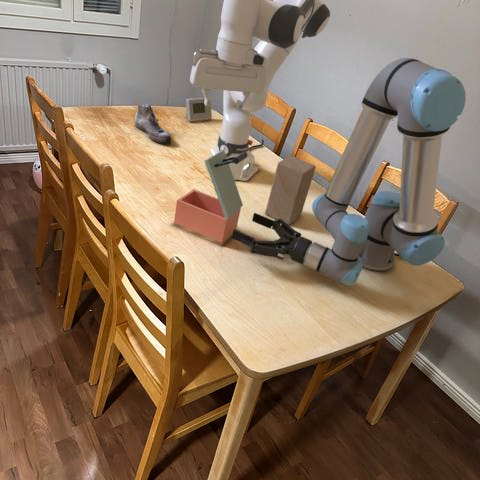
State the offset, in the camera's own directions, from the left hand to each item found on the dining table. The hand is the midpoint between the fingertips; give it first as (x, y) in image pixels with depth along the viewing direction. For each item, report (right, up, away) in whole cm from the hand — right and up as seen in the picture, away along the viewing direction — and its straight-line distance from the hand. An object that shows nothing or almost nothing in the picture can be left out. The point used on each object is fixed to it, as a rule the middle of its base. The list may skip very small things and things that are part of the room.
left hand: (223, 106), depth 119 cm
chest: (-7, -33, +21) cm, 39 cm away
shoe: (-35, +11, +78) cm, 86 cm away
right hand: (+5, -32, +14) cm, 35 cm away
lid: (-1, -20, +11) cm, 23 cm away
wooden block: (+20, -28, +38) cm, 51 cm away
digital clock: (-18, +26, +108) cm, 112 cm away
